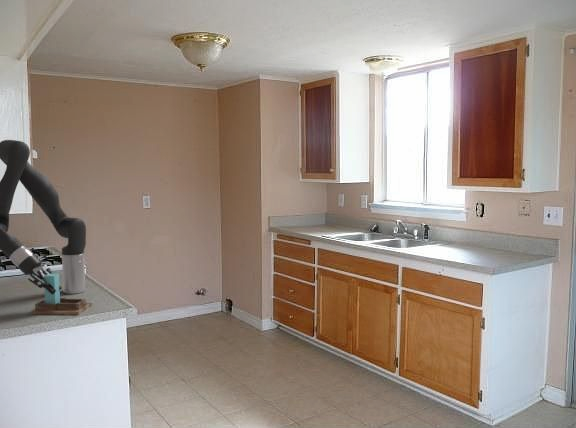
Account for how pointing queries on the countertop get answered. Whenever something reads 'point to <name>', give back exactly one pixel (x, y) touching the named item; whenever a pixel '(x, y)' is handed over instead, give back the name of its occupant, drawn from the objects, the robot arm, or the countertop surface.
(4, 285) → the countertop surface
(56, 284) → the post
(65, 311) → the keyhole board
